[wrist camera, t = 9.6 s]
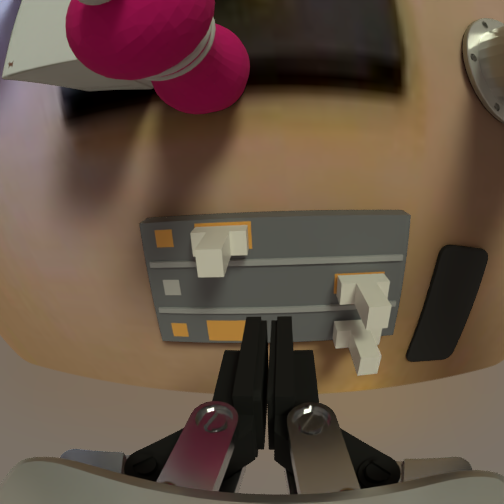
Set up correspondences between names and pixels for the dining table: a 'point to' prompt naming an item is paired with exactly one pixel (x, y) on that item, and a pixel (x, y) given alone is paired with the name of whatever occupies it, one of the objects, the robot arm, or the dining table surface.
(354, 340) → the back switch tab
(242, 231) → the front switch tab
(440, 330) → the phone
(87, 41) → the pepper mill
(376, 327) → the middle switch tab
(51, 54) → the supplement box
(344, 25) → the dining table surface
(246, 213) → the switch panel
